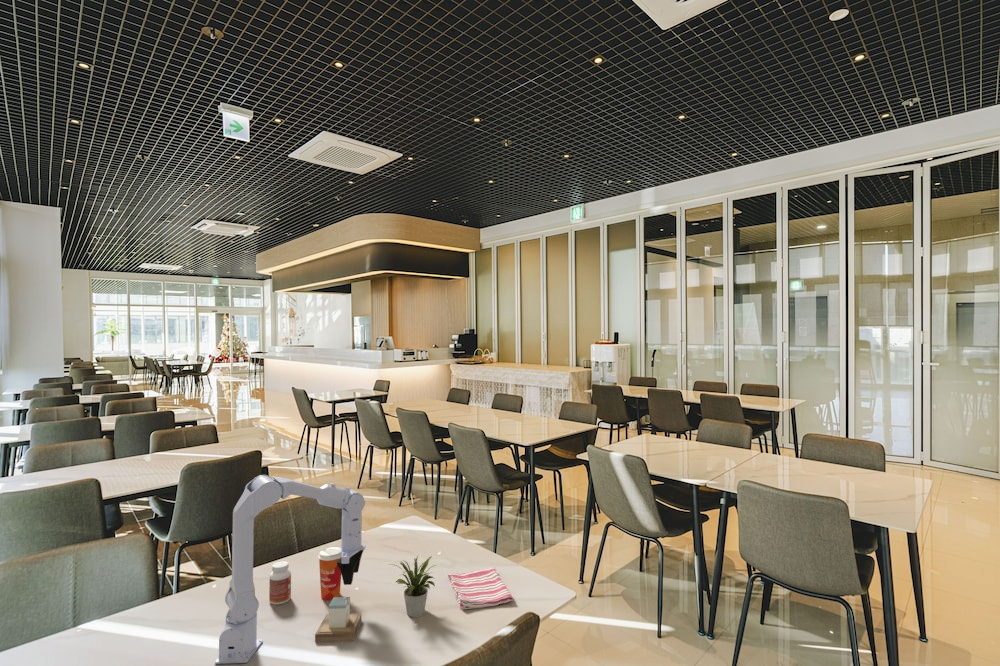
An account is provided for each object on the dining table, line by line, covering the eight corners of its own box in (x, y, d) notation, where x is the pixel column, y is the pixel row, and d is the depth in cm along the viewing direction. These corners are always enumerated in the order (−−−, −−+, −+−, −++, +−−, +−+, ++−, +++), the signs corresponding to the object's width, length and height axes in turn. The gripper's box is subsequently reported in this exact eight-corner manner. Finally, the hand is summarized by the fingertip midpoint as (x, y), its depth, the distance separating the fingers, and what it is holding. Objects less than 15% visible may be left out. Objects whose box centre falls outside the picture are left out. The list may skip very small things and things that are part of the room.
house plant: (388, 630, 139) (388, 570, 140) (385, 605, 153) (386, 551, 153) (439, 622, 143) (439, 565, 144) (432, 599, 157) (432, 546, 157)
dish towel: (460, 613, 149) (460, 601, 149) (447, 578, 172) (447, 568, 172) (514, 605, 154) (514, 594, 154) (495, 572, 176) (495, 562, 176)
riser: (353, 640, 134) (353, 632, 134) (315, 642, 134) (315, 633, 134) (361, 620, 144) (361, 613, 144) (326, 621, 144) (326, 613, 144)
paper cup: (312, 598, 157) (312, 553, 158) (331, 587, 164) (331, 544, 164) (330, 604, 153) (330, 558, 154) (348, 593, 160) (349, 549, 161)
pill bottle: (292, 601, 155) (293, 565, 155) (271, 607, 152) (271, 570, 152) (288, 593, 160) (289, 558, 161) (267, 598, 157) (268, 563, 157)
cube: (345, 627, 137) (345, 605, 137) (328, 627, 137) (328, 605, 137) (349, 618, 142) (350, 596, 142) (333, 618, 141) (333, 597, 142)
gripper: (359, 540, 142) (359, 589, 141) (370, 522, 156) (369, 566, 156) (334, 541, 141) (333, 590, 141) (347, 523, 156) (347, 567, 156)
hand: (351, 578), depth 148 cm, fingers open, 7 cm apart
